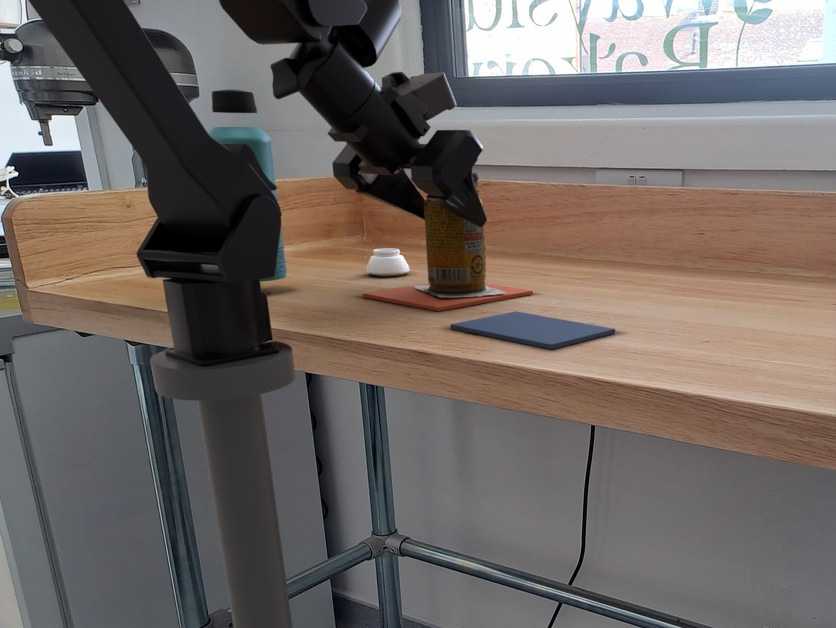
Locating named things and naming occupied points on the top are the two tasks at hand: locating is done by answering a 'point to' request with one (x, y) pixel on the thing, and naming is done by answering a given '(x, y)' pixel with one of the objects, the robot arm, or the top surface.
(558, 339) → the slate mat
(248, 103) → the beverage bottle
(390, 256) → the white jar
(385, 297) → the terracotta mat
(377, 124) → the robot arm
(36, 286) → the top surface
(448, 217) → the condiment
